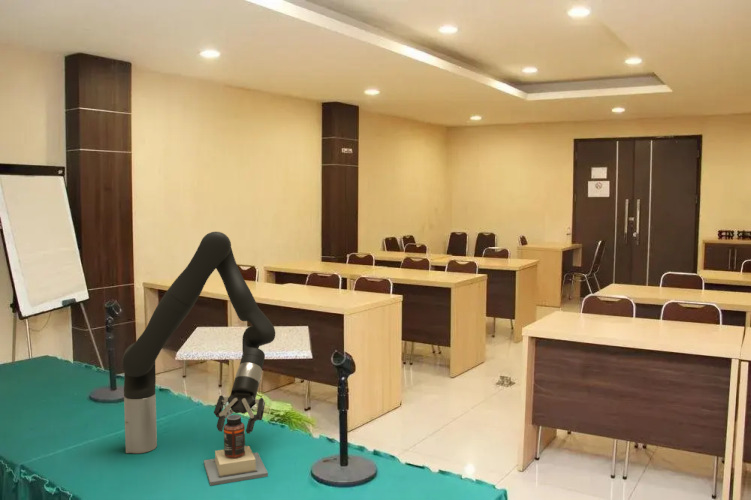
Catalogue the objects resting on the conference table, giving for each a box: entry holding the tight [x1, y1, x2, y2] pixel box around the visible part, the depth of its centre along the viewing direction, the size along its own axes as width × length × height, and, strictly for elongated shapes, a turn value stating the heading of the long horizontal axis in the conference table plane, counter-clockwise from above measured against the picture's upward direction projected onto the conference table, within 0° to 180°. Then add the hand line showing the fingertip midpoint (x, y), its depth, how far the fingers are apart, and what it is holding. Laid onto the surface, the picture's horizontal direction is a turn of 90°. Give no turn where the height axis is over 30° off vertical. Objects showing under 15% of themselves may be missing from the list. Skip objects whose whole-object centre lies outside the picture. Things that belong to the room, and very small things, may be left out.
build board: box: [203, 445, 269, 486], centre depth 184 cm, size 16×15×4 cm
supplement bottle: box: [223, 414, 246, 458], centre depth 184 cm, size 6×6×11 cm
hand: (233, 431), depth 183 cm, fingers open, 8 cm apart
